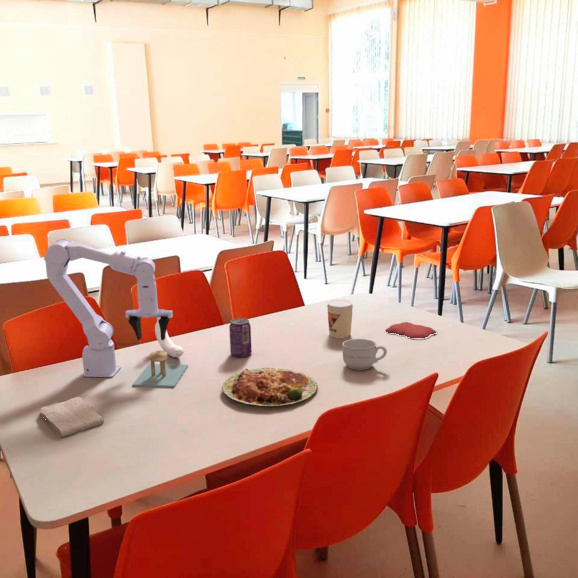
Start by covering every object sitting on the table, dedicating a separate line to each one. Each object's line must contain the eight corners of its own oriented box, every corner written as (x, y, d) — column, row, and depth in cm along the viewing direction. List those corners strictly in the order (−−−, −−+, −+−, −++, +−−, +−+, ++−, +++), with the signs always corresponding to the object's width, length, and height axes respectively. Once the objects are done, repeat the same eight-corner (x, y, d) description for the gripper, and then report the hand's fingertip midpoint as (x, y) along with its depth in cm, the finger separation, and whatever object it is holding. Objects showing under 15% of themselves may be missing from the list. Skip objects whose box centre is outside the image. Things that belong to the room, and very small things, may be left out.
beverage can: (253, 350, 212) (251, 317, 209) (249, 358, 205) (248, 324, 202) (232, 350, 213) (231, 317, 209) (228, 358, 206) (227, 324, 202)
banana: (178, 366, 200) (175, 323, 196) (152, 349, 215) (148, 309, 211) (191, 362, 203) (188, 320, 199) (165, 346, 218) (161, 306, 214)
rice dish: (296, 369, 199) (296, 353, 198) (333, 400, 174) (332, 382, 173) (212, 383, 190) (210, 367, 188) (237, 419, 164) (236, 400, 163)
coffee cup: (322, 332, 228) (322, 301, 225) (344, 328, 232) (344, 298, 228) (334, 340, 220) (334, 308, 217) (357, 336, 224) (357, 304, 220)
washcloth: (79, 402, 177) (78, 393, 176) (106, 425, 164) (105, 414, 163) (37, 416, 169) (35, 405, 169) (61, 440, 156) (60, 429, 155)
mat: (132, 386, 186) (132, 384, 185) (149, 365, 201) (148, 363, 201) (174, 387, 184) (174, 385, 184) (188, 366, 200) (188, 364, 200)
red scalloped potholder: (380, 332, 228) (380, 327, 228) (401, 323, 238) (401, 318, 237) (422, 343, 217) (422, 338, 216) (441, 332, 226) (442, 327, 226)
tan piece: (149, 377, 190) (147, 356, 188) (155, 370, 195) (153, 350, 193) (165, 378, 189) (163, 357, 187) (171, 371, 194) (169, 350, 192)
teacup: (336, 369, 195) (336, 345, 193) (350, 357, 204) (350, 335, 202) (378, 377, 188) (379, 352, 186) (390, 364, 198) (391, 341, 196)
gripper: (120, 301, 188) (124, 343, 192) (166, 301, 187) (170, 343, 190) (128, 294, 195) (132, 335, 199) (173, 294, 194) (176, 335, 197)
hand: (151, 338), depth 195 cm, fingers open, 7 cm apart
